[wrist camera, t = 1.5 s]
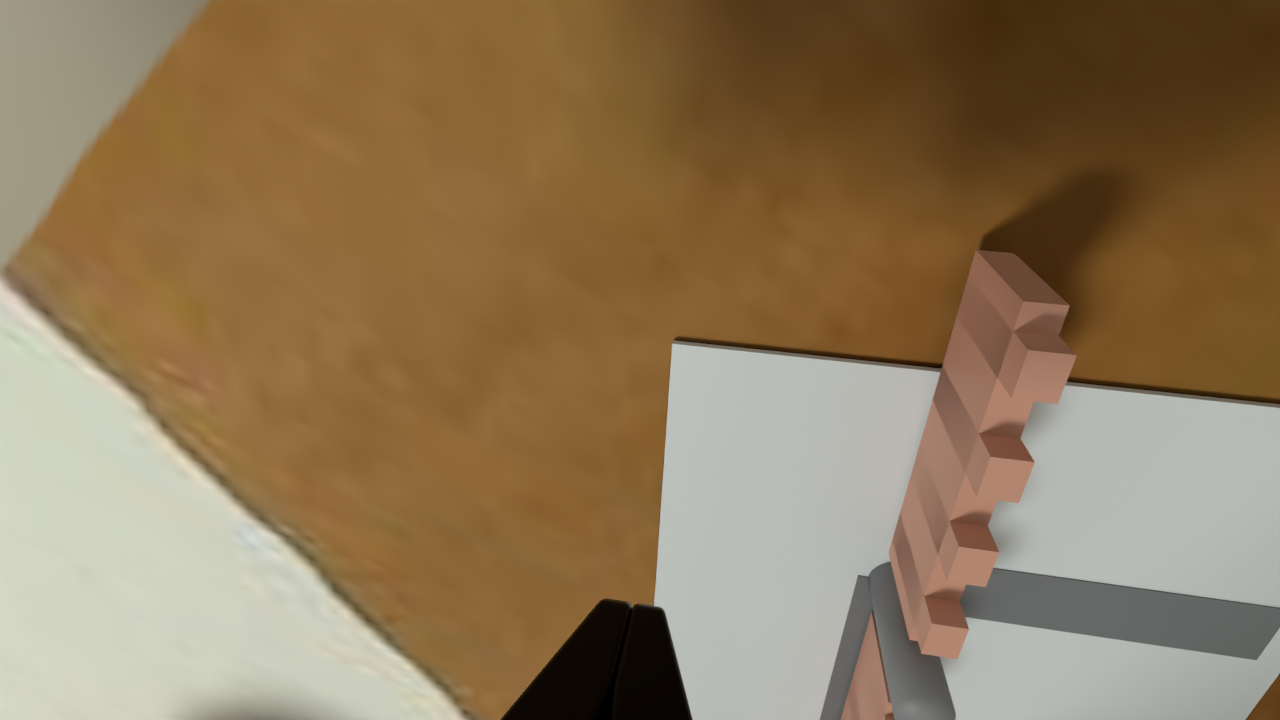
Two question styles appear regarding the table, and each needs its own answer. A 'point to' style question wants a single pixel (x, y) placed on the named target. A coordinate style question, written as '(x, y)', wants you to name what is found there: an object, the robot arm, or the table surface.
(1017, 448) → the fence leaf
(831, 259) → the table surface
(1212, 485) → the card
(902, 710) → the fence fixed
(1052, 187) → the table surface
